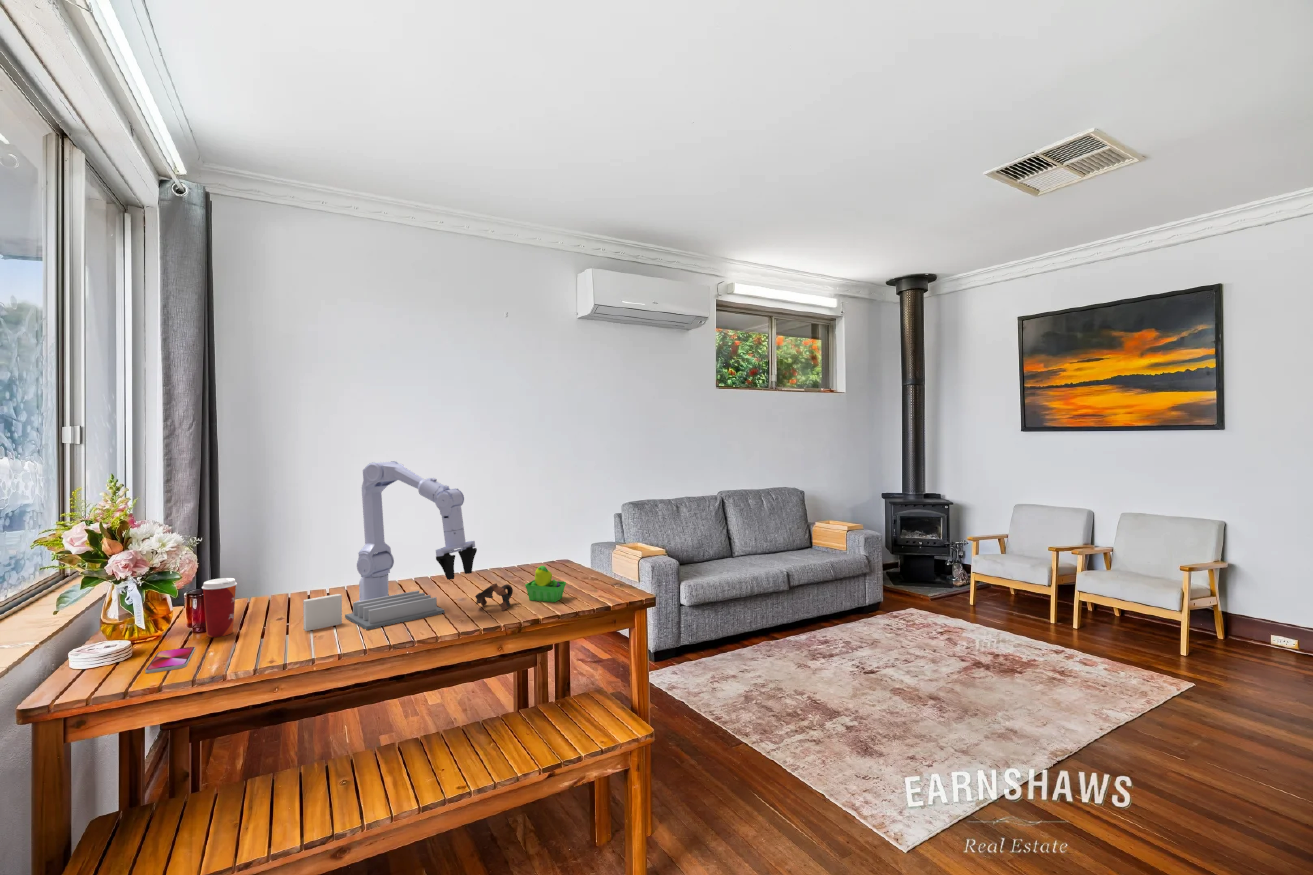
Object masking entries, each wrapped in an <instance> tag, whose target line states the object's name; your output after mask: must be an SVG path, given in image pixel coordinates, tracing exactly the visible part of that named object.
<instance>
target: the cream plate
mask: <svg viewBox="0 0 1313 875" xmlns="http://www.w3.org/2000/svg"><path fill="white" fill-rule="evenodd" d="M342 597H343V596H342V594H340V593H336V594H330V595H325V596H324V595H323V596H319V597H313V598H308V599H303V602H302V604H303V630H304V631H305V632H309V631H313V630H315V631H316V630H318V629H323V628H329V627H333V626H338V625H342V624H343V616H342V615H343V602H342V601H343V600H342V599H343V598H342Z"/></svg>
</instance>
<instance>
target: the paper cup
mask: <svg viewBox="0 0 1313 875" xmlns="http://www.w3.org/2000/svg"><path fill="white" fill-rule="evenodd" d="M237 585H238V583H237V582H236V578H233V577H222V578H215V579H214V578H213V579H209V580H205V581H204V582H203V584H202V586H201V589H202V592H203V605H204V619H205V631H206V636H207V637H208V638H219V637H224V636H228V635H231V634H233V631H234V621H235V605H236V588H237Z"/></svg>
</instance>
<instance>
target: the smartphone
mask: <svg viewBox="0 0 1313 875" xmlns="http://www.w3.org/2000/svg"><path fill="white" fill-rule="evenodd" d="M195 650H196V647H195V646H188V647H182V648H176V649H175V648H174V649H167V650H166V649H165V650H161V651H158V652H156V654H155V655H154V657H153V658H152V659H151V660H150V662H149V663H148V665H147V666H146V667H145V671H144V672H145V674H155V673H160V672H161V673H162V672H165V671H172V670H179V669H183V668H186V667H187V666H188V665H189V662H190V661H191V659H192V656H193V654H194V653H195Z"/></svg>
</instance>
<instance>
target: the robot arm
mask: <svg viewBox="0 0 1313 875" xmlns="http://www.w3.org/2000/svg"><path fill="white" fill-rule="evenodd" d="M397 481H400V482H401V483H404V484H406V485H408V486H410V487H413V488H415V489H417V490H418V493H419V495H420V496H422V497H424V498H425V499H426V500H428V501H431V502H433V503H435V506H436V508H437V509H438V510H439V515H440V516H441V520H442V521H441V522H442V530H443V537H444V547H440V548H437V549H435V560H436V561H437V563H438V564H439V565H440V567H441V569H442V571H443V572H444V575H445V578H446V580H448V581H451V580H455V560H456V559H455V558H456V554H452V553H458V555H459V557H460V559H461V563H462V567H463V573H464V575H467V574H468V575H469V574H473V565H474V560H475V557H476V554H477V550H478V549H477V547H476V542H475V540H469V541H466V537H465V529H464V528H465V526H464V520H463V511H462V506H463V505H464V503H465V497H464V493H463V492H462V491H461V490H460V489H459V488H450V486H449V485H447V484H442V483H441V482H439V481H437V478H436V477H428V478H427V477H426V478H425V479H424V478H423V477H422V476H420V475H418V474H416V473H415V472H413V470H412V471H411V469H408V468H407V467H405V466H404V464H402V463H399V462H398V461H397V460H396V461H395V460H394V461H380V462H375V461H373V462H369V463H368V464H367V465H366V466H365V467H364V468H363V469H362V484H361V499H362V500H361V501H362V513H363V529H364V546H363V547H361V549H360V550H359V551H358V552H357V554H358V559H357V563H356V569H357V572H358V573H359V575H360V580H359V584H358V585H359V586H358V587H359V591H358V592H359V595H358V596H359V597H358V598H359V600H356V601H355V602H358V601H364V600H369V599H374V598H380V597H385V596H389V574H390V573H391V570H392V568H393V567H394V564H395V560H394V559H395V558H394V556H393V554H392V549H391V546H389V544H387V543H386V542H385V531H384V530H385V529H384V528H385V526H384V513H383V511H384V510H383V497H382V495H383V494H382V492H384V490H385V489H386V488H388V486H389V485H392V484H394V483H395V482H397Z"/></svg>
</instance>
